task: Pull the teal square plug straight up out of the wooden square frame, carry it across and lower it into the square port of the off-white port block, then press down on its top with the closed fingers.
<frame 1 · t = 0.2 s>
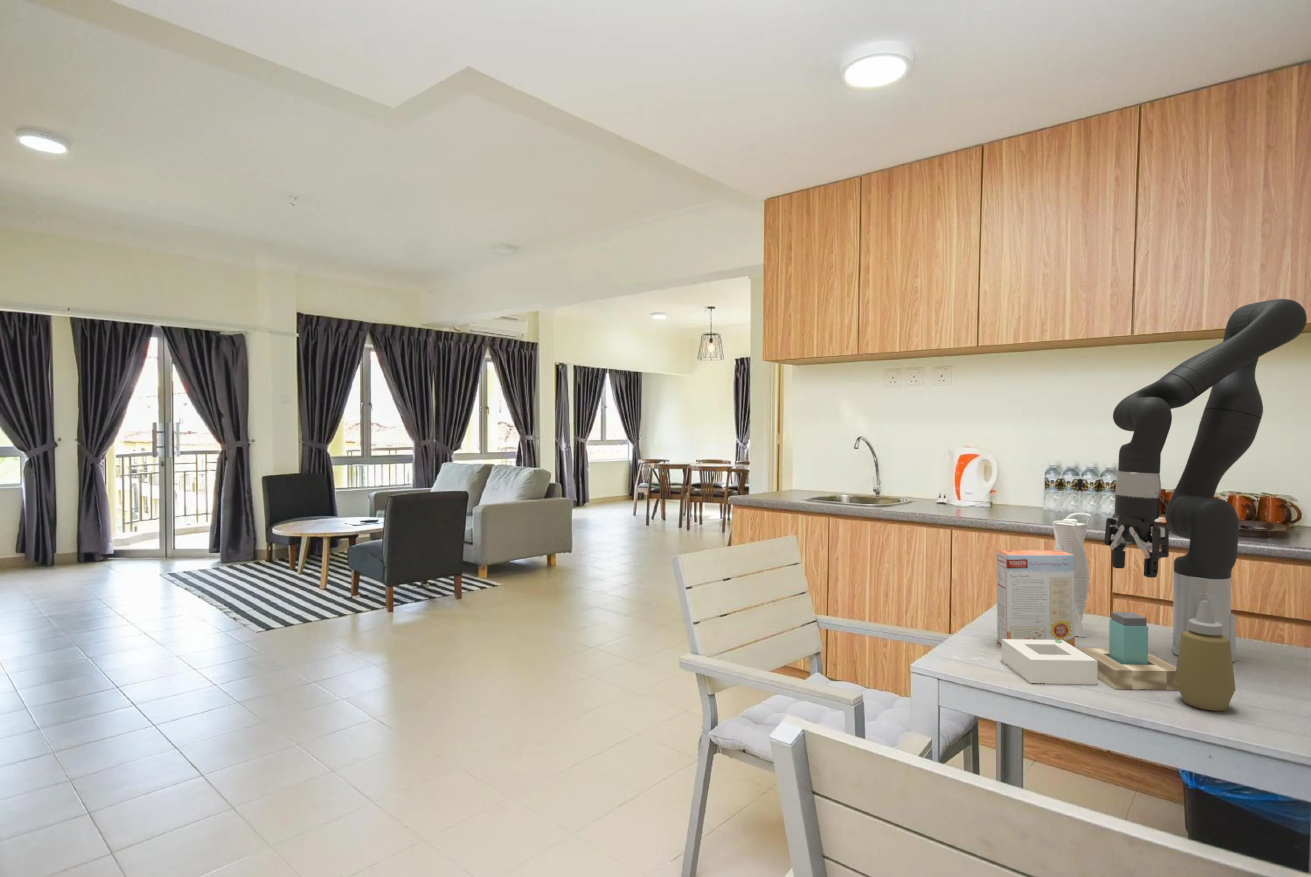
hand: (1133, 572, 138), 18 cm above the table, tool pointing down, fingers open, 8 cm apart
port block: (1047, 672, 130), on the table
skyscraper: (1070, 634, 154), on the table
wooden square frame: (1128, 677, 128), on the table
cracker box: (1034, 648, 145), on the table
squeeze bottle: (1204, 705, 115), on the table
plug: (1128, 646, 127), in the wooden square frame
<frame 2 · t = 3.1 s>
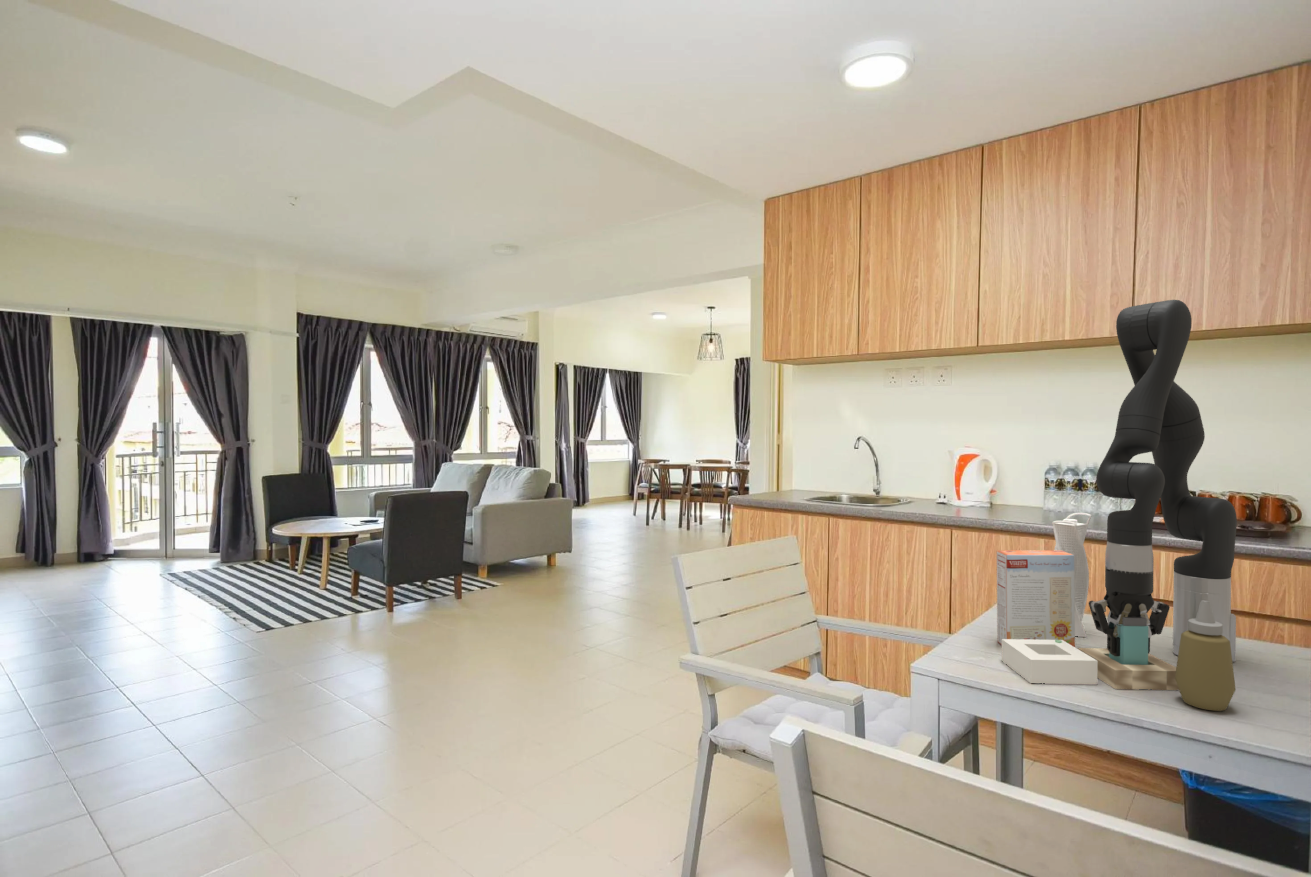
hand: (1128, 654, 127), 4 cm above the table, tool pointing down, fingers closed on plug, 4 cm apart
plug: (1128, 646, 127), in the wooden square frame, touching gripper
everything else where it was.
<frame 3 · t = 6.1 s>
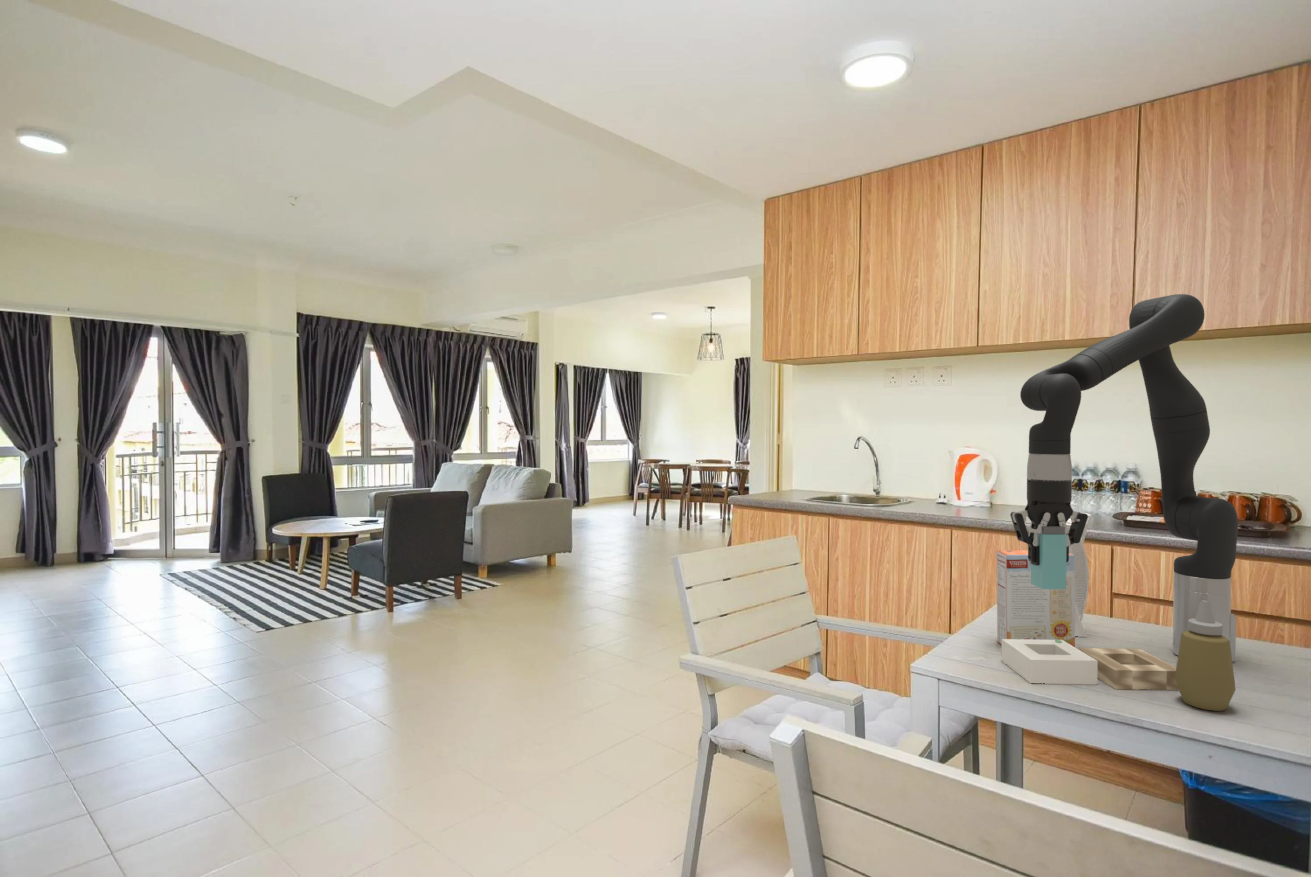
hand: (1048, 564, 130), 21 cm above the table, tool pointing down, fingers closed on plug, 4 cm apart
plug: (1048, 555, 130), point 23 cm above the table, touching gripper
everything else where it was.
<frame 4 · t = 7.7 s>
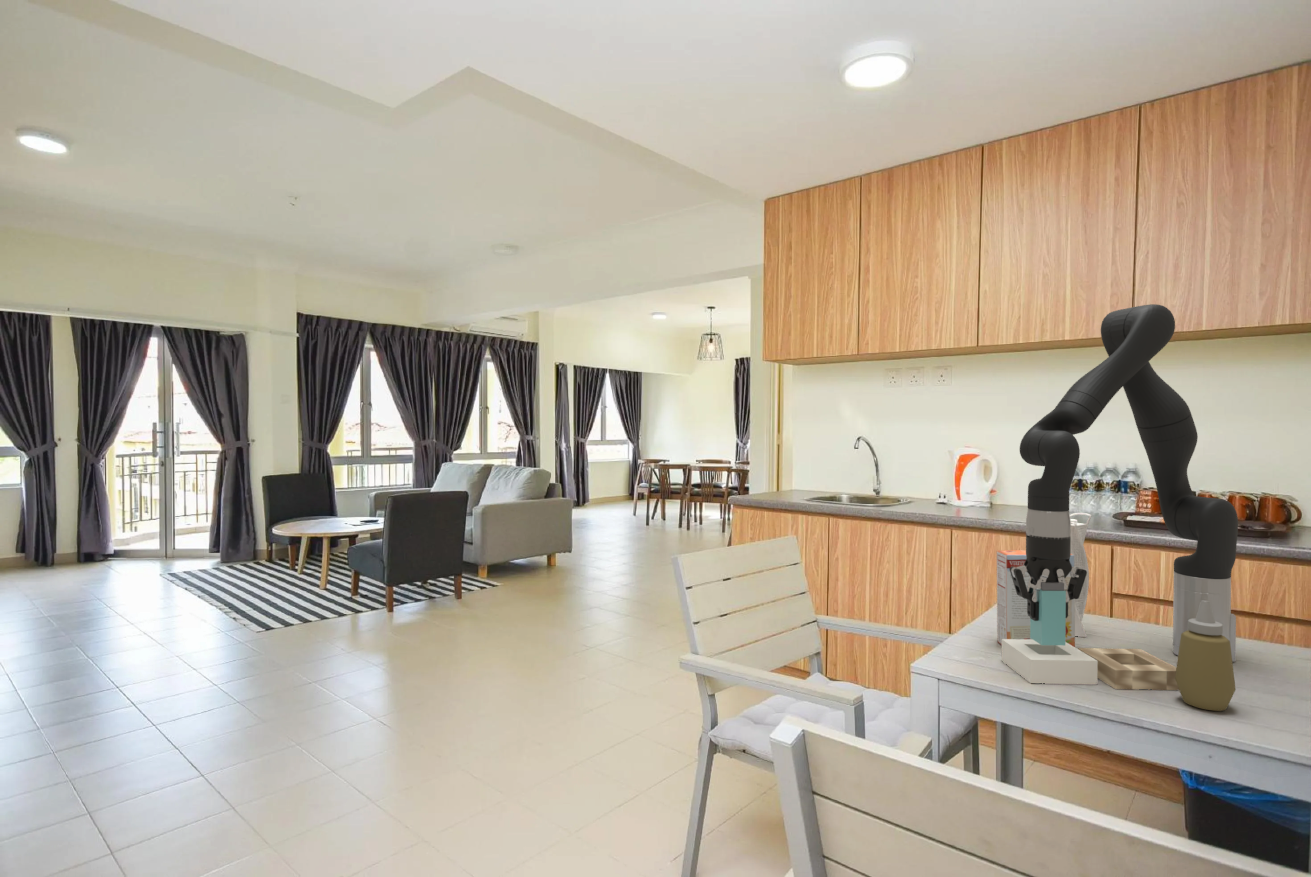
hand: (1047, 619, 130), 10 cm above the table, tool pointing down, fingers closed on plug, 4 cm apart
plug: (1047, 611, 130), point 12 cm above the table, touching gripper
everything else where it was.
when the fingers open (5 cm above the table, at t = 9.1 s): plug stays where it is, resting in port block.
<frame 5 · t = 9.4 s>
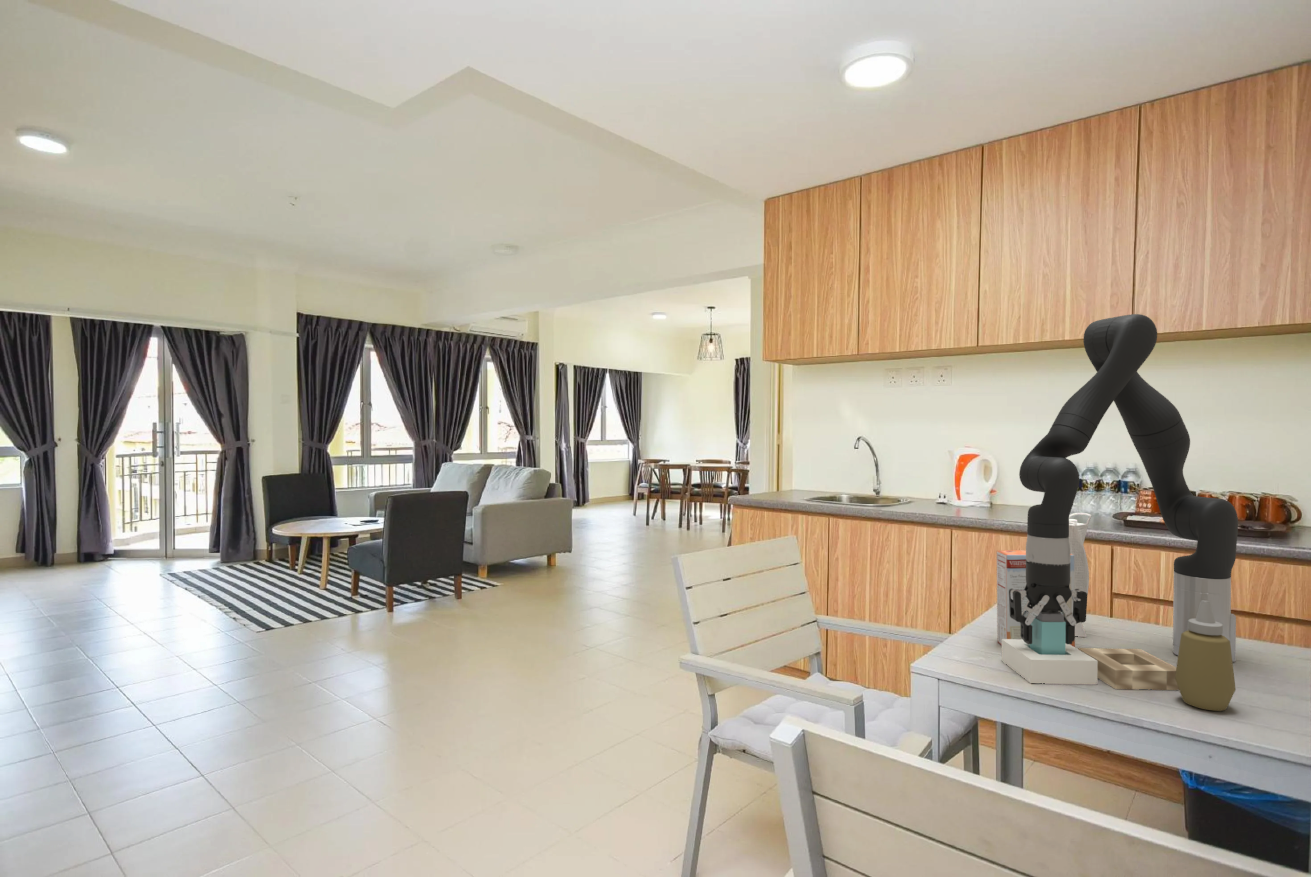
hand: (1047, 642, 130), 6 cm above the table, tool pointing down, fingers open, 7 cm apart
plug: (1047, 641, 130), in the port block
everything else where it was.
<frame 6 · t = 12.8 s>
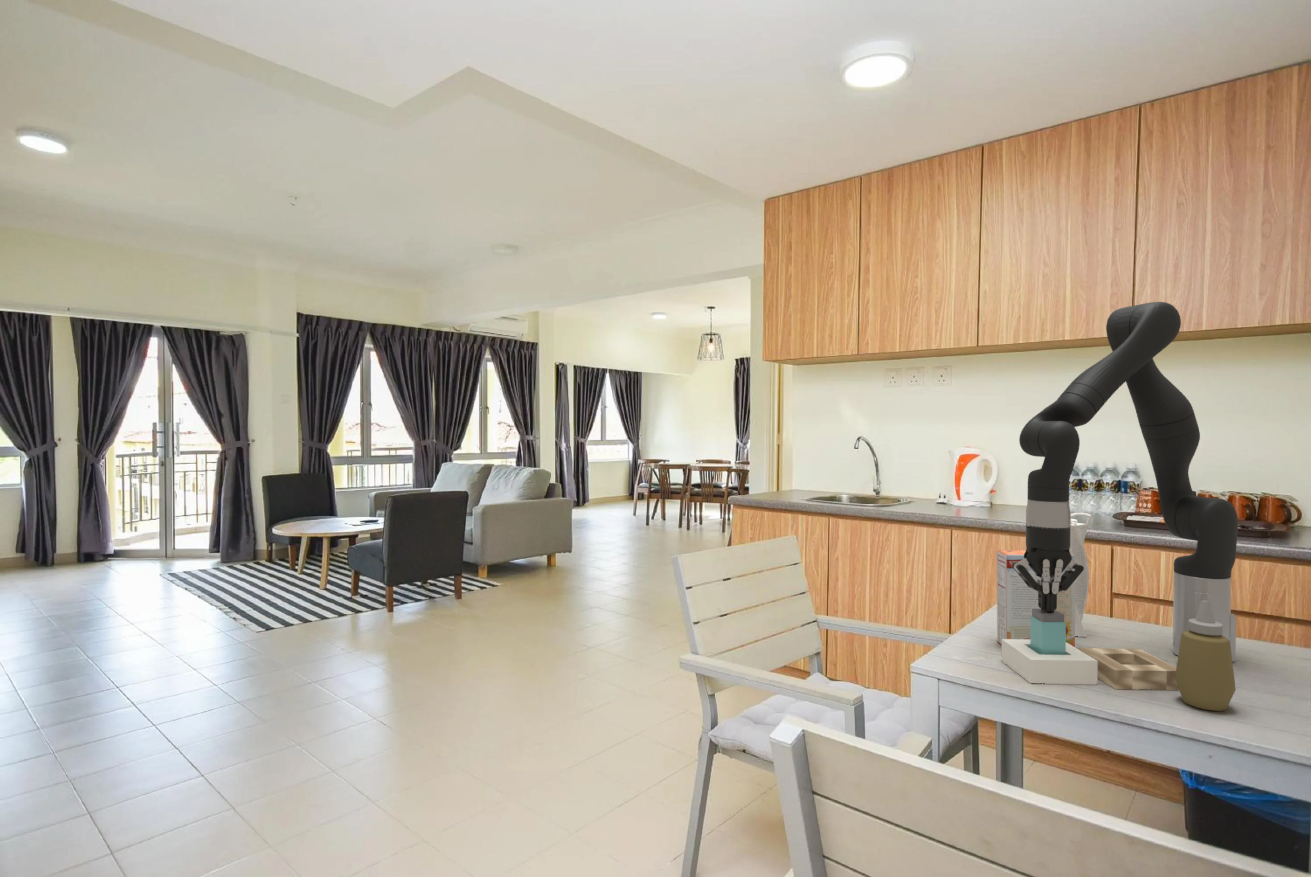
hand: (1047, 611, 130), 12 cm above the table, tool pointing down, fingers closed
plug: (1047, 642, 130), in the port block, touching gripper
everything else where it was.
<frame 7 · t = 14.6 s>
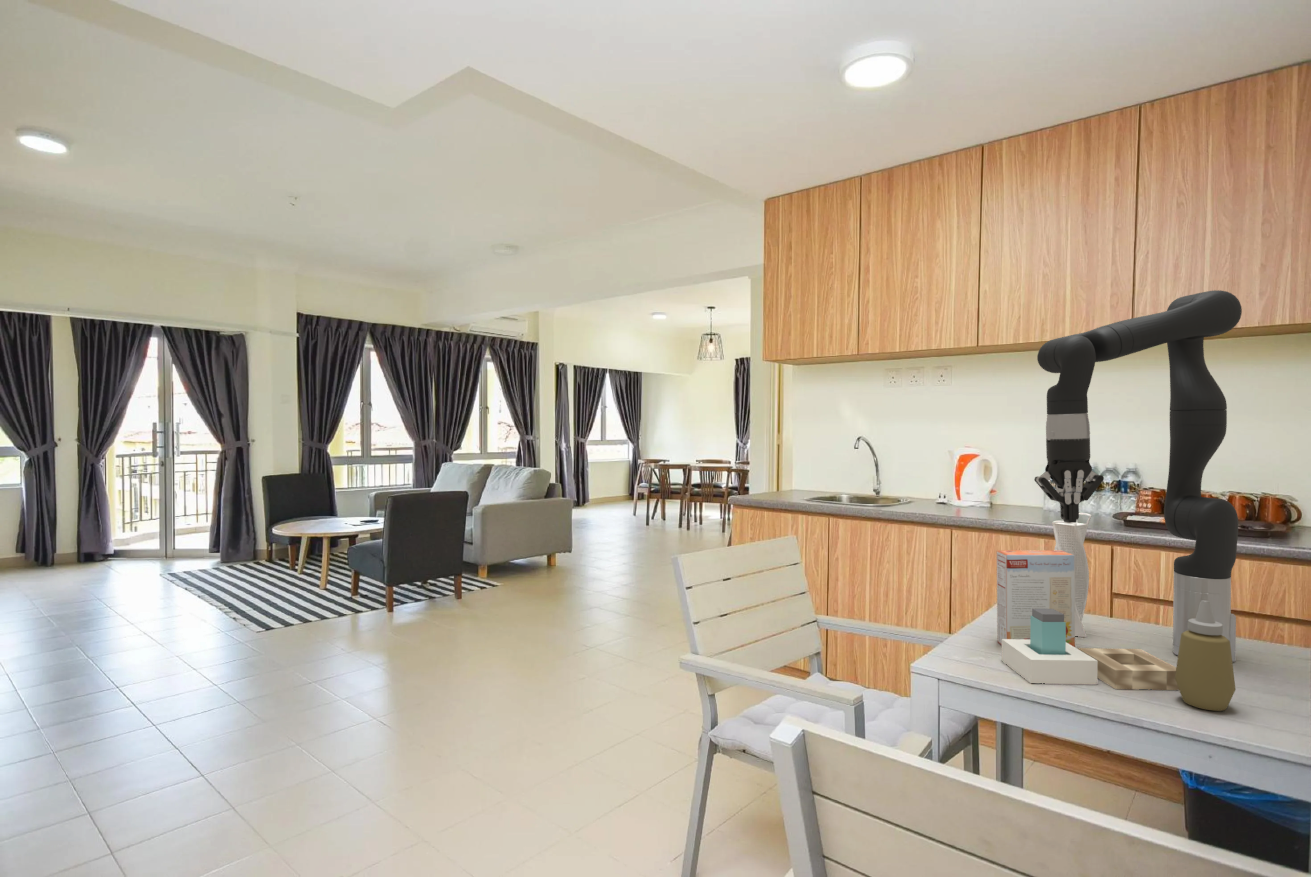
hand: (1069, 522, 135), 29 cm above the table, tool pointing down, fingers closed
plug: (1047, 641, 130), in the port block
everything else where it was.
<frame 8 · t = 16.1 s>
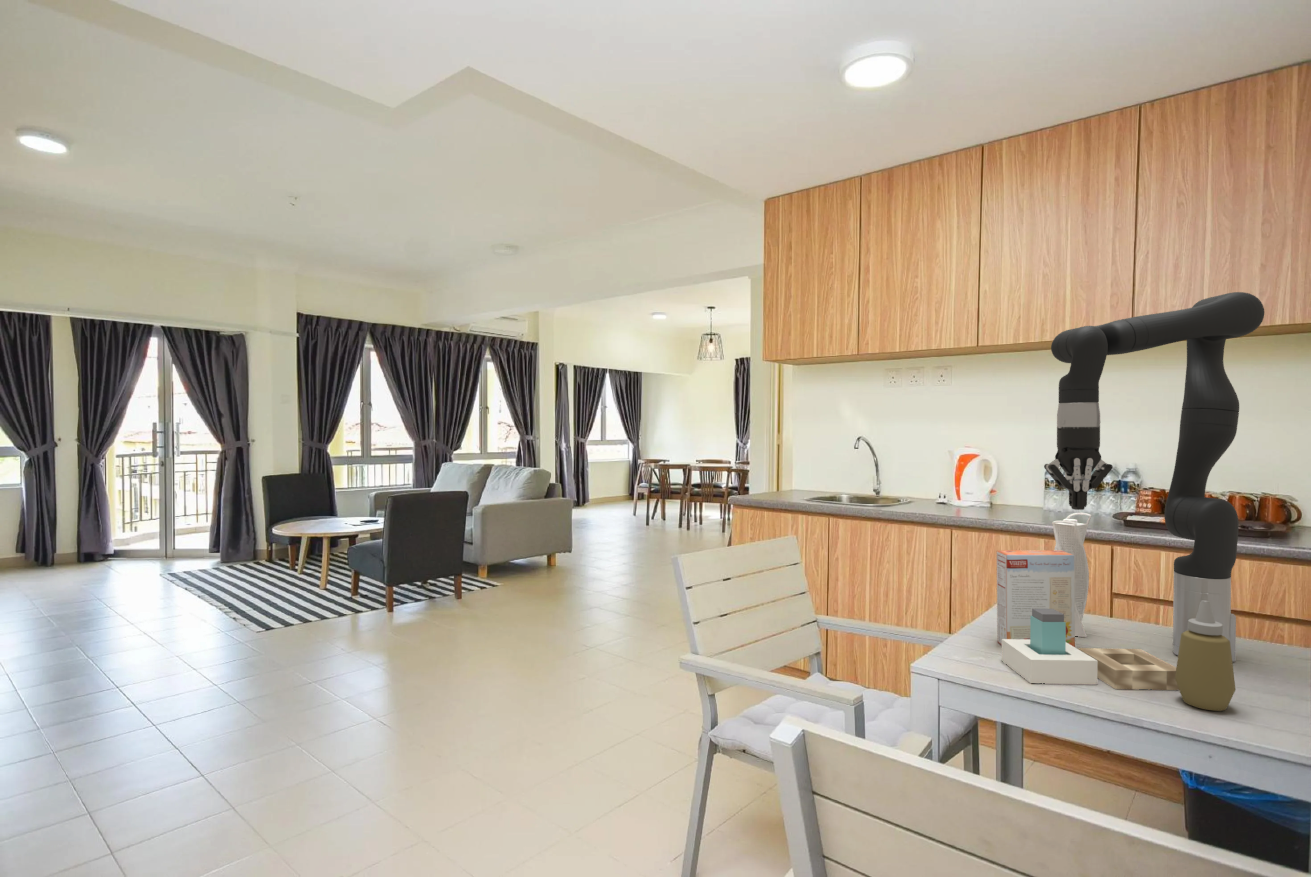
hand: (1077, 509, 137), 31 cm above the table, tool pointing down, fingers closed
nothing on the table moved.
at the end: plug 0.1 cm off-centre on the port block, point 6.0 cm above the port block's base; plug tilted 0°; the gripper is holding nothing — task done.
